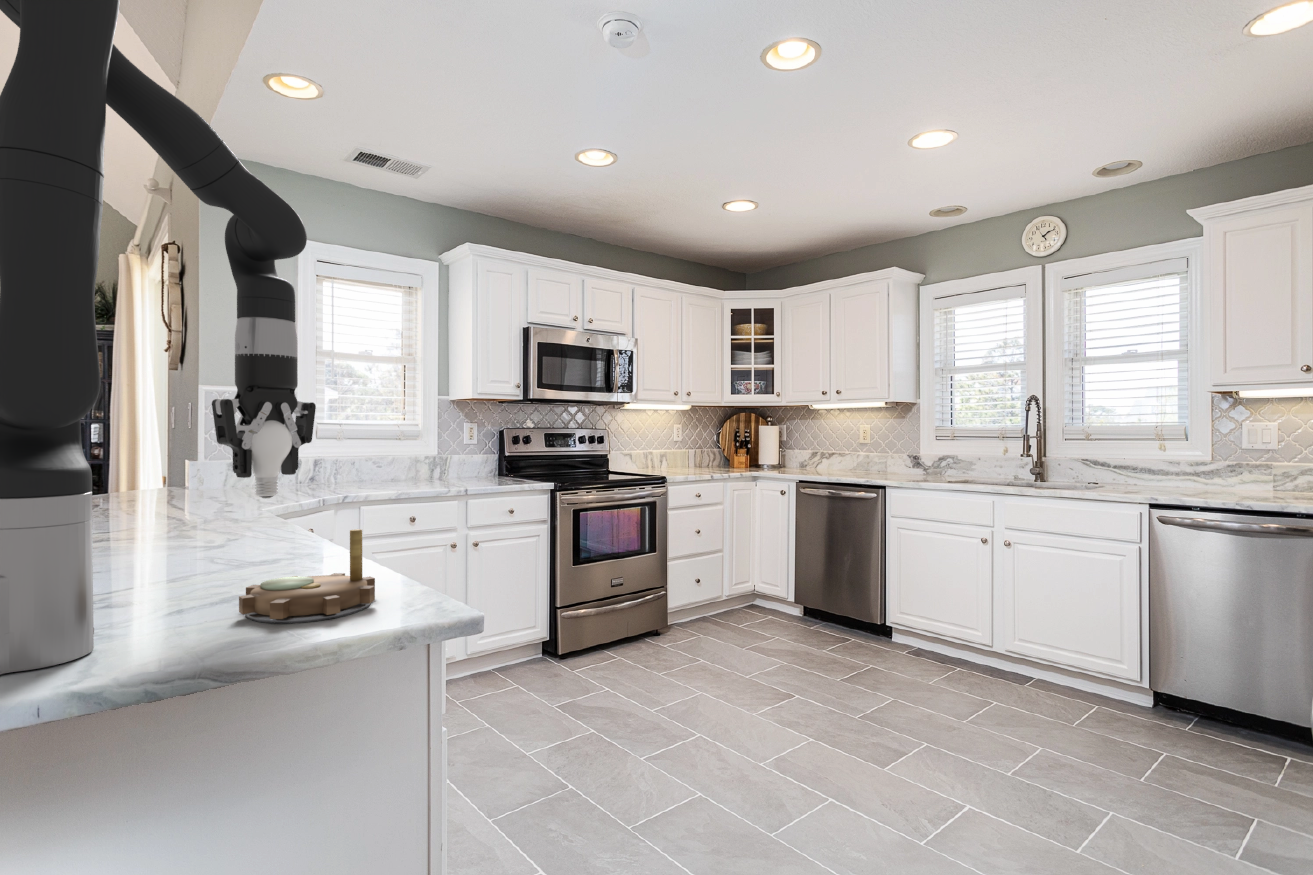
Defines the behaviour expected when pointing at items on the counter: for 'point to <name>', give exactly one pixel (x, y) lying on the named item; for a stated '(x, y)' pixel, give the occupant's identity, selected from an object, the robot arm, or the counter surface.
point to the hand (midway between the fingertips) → (267, 475)
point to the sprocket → (312, 590)
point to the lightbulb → (269, 456)
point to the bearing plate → (306, 616)
